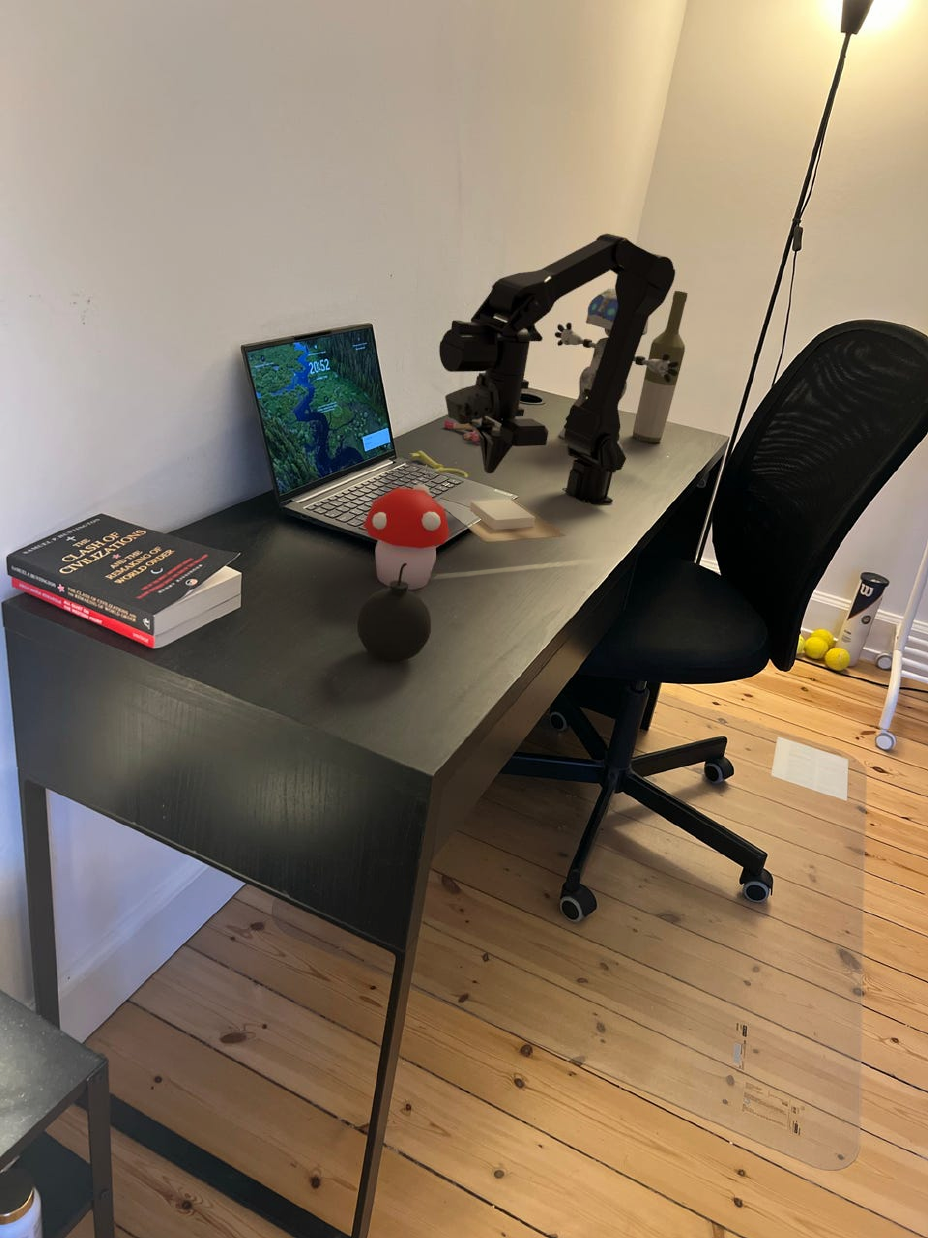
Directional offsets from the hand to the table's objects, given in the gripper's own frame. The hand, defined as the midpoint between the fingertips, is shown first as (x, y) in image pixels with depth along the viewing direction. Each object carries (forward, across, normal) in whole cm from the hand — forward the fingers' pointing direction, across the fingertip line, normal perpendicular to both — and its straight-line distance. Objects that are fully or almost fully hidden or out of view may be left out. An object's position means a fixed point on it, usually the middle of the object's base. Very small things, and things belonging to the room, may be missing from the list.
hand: (488, 472), depth 145 cm
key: (+7, -17, +2) cm, 18 cm away
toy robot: (+6, -28, +44) cm, 53 cm away
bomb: (+6, +37, -35) cm, 51 cm away
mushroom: (+6, +19, -24) cm, 32 cm away
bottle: (+6, -30, +60) cm, 67 cm away
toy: (+7, -34, +20) cm, 40 cm away
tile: (+5, +2, 0) cm, 5 cm away
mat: (+6, +5, 0) cm, 8 cm away
